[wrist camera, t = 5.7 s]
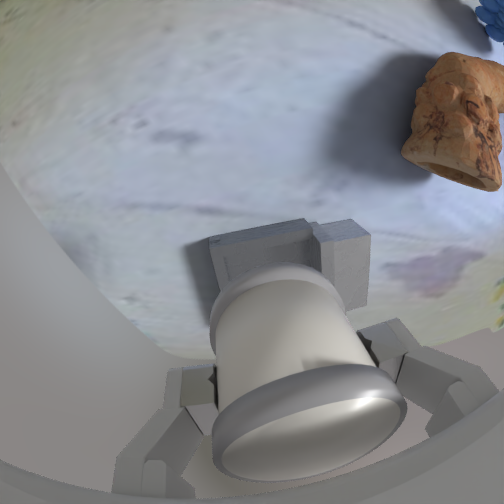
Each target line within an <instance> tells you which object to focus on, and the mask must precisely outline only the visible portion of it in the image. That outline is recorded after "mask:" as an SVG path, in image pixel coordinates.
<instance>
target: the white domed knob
mask: <svg viewBox="0 0 504 504" xmlns="http://www.w3.org/2000/svg"><path fill="white" fill-rule="evenodd" d="M210 343H211V346H212V349H213V351H214V354H215V355H216V369H217V394H218V414H219V415H218V417H217V418H216V419H215V421H214V424H213V426H212V454H213V462H214V465H215V466H216V468H217V469H218V470H219V471H221V472H222V473H224V474H225V475H228V476H230V477H233V478H236V479H239V480H244V481H251V482H261V483H276V482H287V481H295V480H301V479H306V478H311V477H315V476H318V475H321V474H325V473H328V472H331V471H334V470H336V469H339V468H341V467H344V466H346V465H348V464H350V463H353V462H354V461H356V460H358V459H360V458H362V457H364V456H365V455H367V454H369V453H370V452H372V451H373V450H375V449H376V448H378V447H379V446H380V445H381V444H383V443H384V442H385V441H386V440H387V439H389V438H390V437H391V436H392V435H393V434H394V432H395V431H396V430H397V429H398V428H399V427H400V425H401V424H402V422H403V420H404V418H405V416H406V413H407V403H406V401H405V399H404V397H403V396H402V394H401V392H400V391H399V389H398V387H397V386H396V384H395V382H394V381H393V379H392V377H391V376H390V375H389V374H388V373H387V372H386V371H384V370H382V369H380V368H377V367H376V365H375V364H374V362H373V360H372V359H371V357H370V355H369V353H368V352H367V350H366V348H365V347H364V345H363V343H362V342H361V340H360V338H359V337H358V335H357V334H356V332H355V330H354V329H353V327H352V325H351V324H350V322H349V320H348V319H347V317H346V310H345V305H344V303H343V300H342V298H341V297H340V295H339V294H338V292H337V291H336V289H335V288H334V286H333V285H332V283H331V282H330V281H329V280H328V279H327V277H326V276H324V275H323V274H322V273H320V272H319V271H317V270H315V269H314V268H312V267H309V266H306V265H303V264H298V263H291V262H277V263H270V264H265V265H261V266H258V267H255V268H253V269H250V270H248V271H246V272H244V273H242V274H240V275H239V276H237V277H236V278H234V279H233V280H232V281H231V282H230V283H228V284H227V285H226V286H225V287H224V289H223V290H222V291H221V292H220V293H219V295H218V296H217V298H216V300H215V302H214V304H213V306H212V310H211V313H210Z"/></svg>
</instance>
